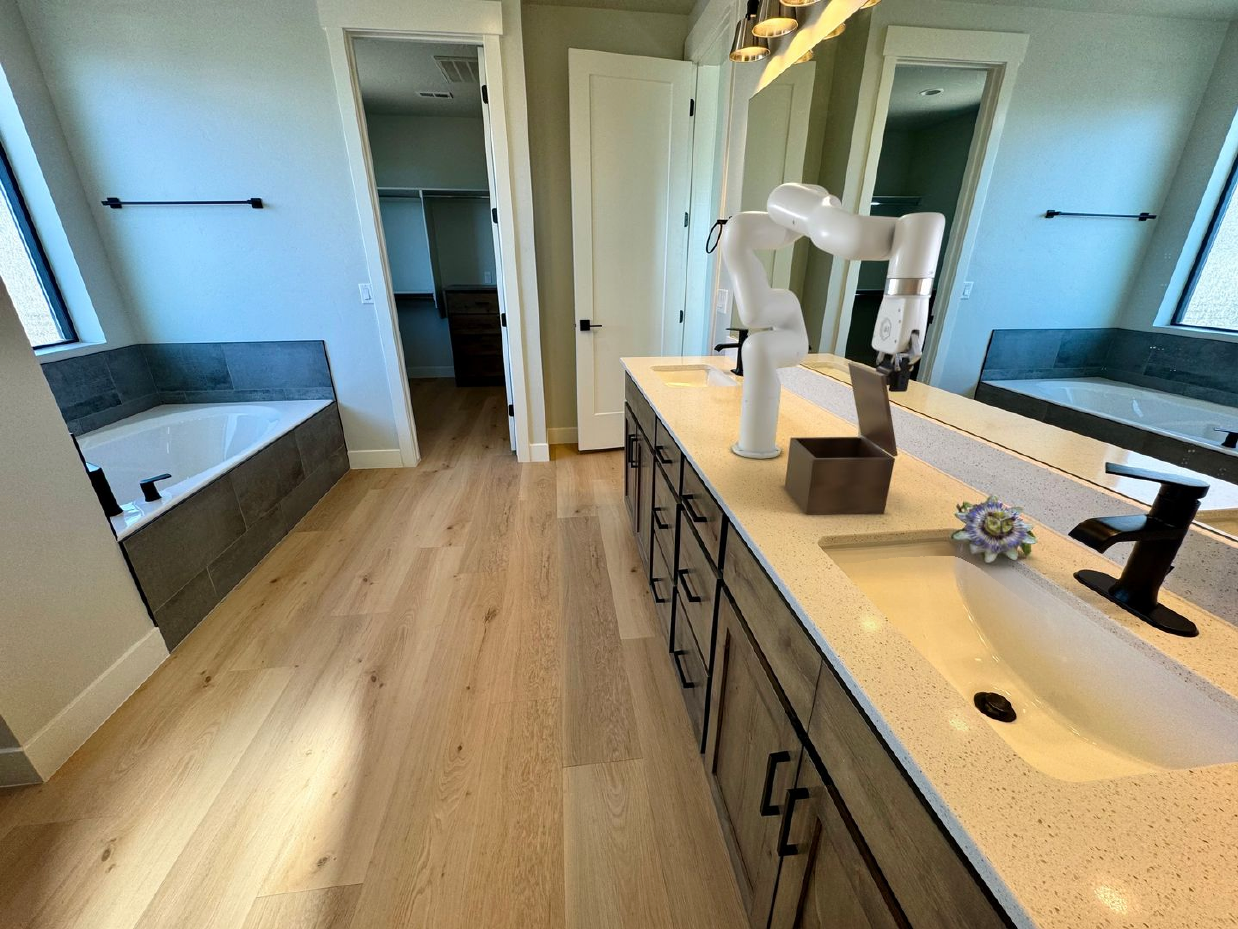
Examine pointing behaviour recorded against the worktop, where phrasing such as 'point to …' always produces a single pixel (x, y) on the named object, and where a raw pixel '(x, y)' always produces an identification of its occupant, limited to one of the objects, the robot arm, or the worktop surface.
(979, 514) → the passion flower
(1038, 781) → the worktop surface
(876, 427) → the lid
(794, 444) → the chest
